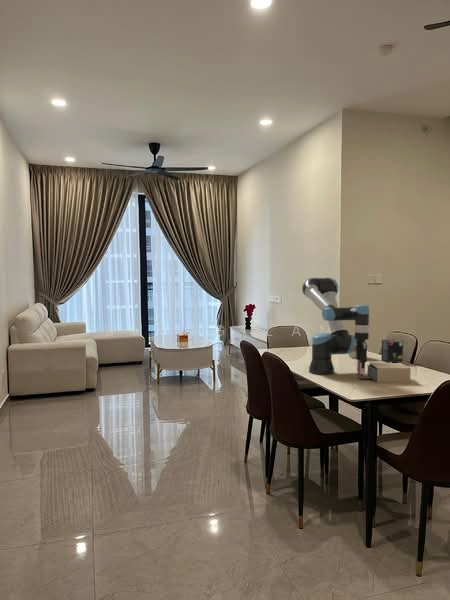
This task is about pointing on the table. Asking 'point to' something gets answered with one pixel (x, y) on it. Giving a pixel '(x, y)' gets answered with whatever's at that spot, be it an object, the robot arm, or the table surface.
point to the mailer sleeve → (392, 372)
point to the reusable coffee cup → (353, 354)
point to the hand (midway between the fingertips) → (361, 372)
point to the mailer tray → (368, 372)
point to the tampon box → (392, 351)
